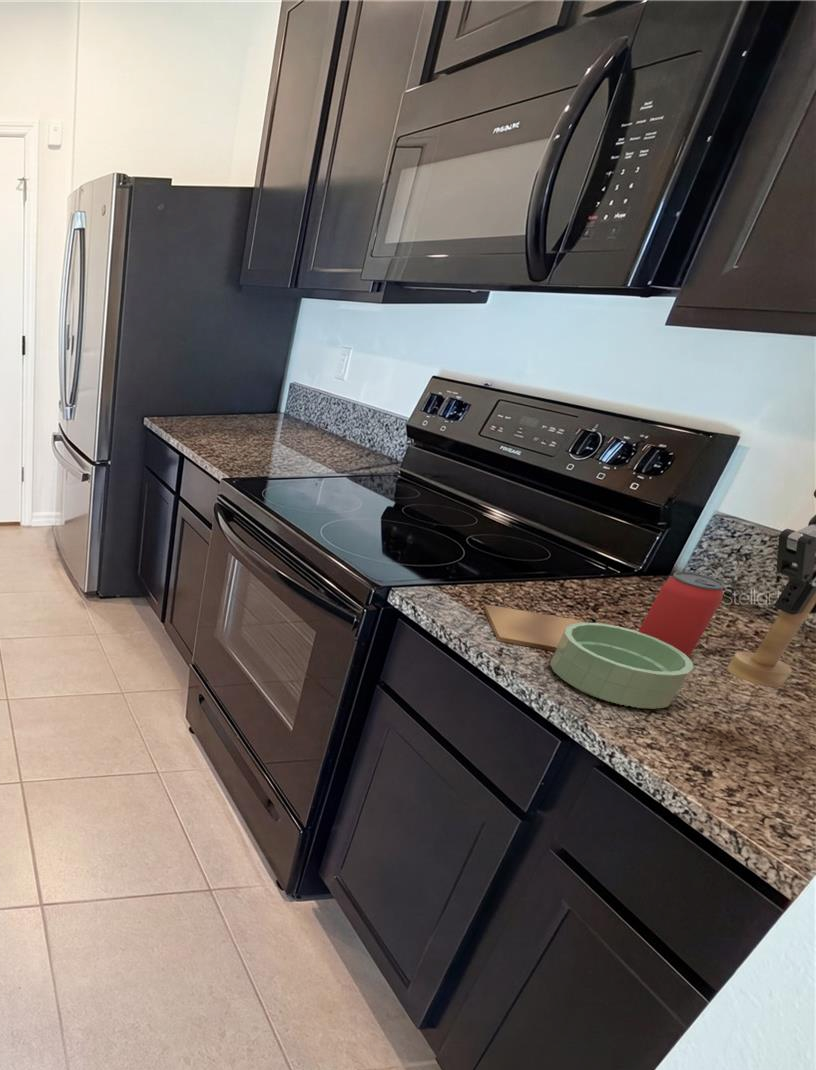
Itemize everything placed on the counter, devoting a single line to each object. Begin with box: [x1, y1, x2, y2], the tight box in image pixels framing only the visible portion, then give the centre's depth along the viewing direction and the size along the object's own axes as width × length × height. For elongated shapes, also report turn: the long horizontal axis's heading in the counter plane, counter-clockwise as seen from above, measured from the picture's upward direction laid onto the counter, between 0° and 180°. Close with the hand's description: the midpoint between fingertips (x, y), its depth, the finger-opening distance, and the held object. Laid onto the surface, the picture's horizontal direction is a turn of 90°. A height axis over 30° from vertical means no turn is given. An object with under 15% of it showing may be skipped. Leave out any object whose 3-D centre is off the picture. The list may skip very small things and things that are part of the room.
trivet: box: [482, 603, 585, 652], centre depth 104 cm, size 14×12×1 cm
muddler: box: [726, 567, 816, 688], centre depth 75 cm, size 5×5×14 cm
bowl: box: [549, 621, 694, 710], centre depth 91 cm, size 14×14×6 cm
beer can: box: [638, 571, 726, 657], centre depth 98 cm, size 7×7×12 cm
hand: (796, 610), depth 74 cm, fingers closed on muddler
